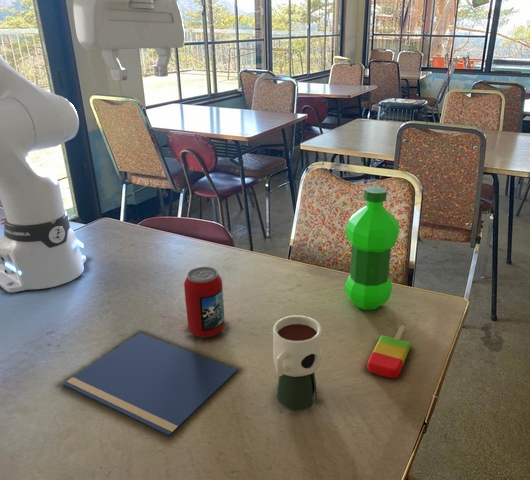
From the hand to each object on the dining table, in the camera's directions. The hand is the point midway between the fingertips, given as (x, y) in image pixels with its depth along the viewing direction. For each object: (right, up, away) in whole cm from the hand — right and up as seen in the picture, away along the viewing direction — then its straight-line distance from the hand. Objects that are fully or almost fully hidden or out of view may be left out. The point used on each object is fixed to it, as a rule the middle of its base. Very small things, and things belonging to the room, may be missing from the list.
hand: (141, 78), depth 80 cm
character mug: (+26, -52, -5) cm, 58 cm away
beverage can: (+8, -44, +11) cm, 46 cm away
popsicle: (+43, -47, +6) cm, 64 cm away
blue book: (+2, -49, -2) cm, 50 cm away
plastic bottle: (+40, -40, +21) cm, 61 cm away
